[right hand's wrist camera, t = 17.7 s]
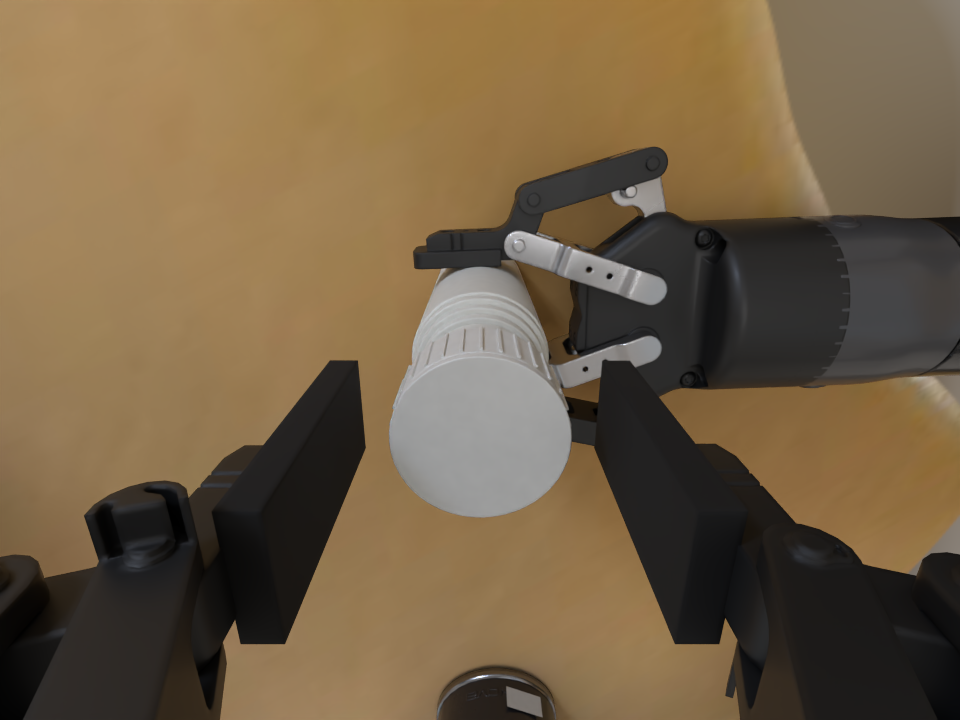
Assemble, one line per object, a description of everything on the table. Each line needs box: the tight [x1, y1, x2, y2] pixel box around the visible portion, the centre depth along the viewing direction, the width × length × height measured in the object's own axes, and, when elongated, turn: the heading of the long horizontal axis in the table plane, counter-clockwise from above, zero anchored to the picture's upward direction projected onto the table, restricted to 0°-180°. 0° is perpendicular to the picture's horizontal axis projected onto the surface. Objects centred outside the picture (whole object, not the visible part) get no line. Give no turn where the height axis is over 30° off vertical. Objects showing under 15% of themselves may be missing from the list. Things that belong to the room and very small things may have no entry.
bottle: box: [412, 260, 549, 364], centre depth 21 cm, size 5×5×17 cm
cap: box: [389, 326, 572, 517], centre depth 13 cm, size 4×5×2 cm
